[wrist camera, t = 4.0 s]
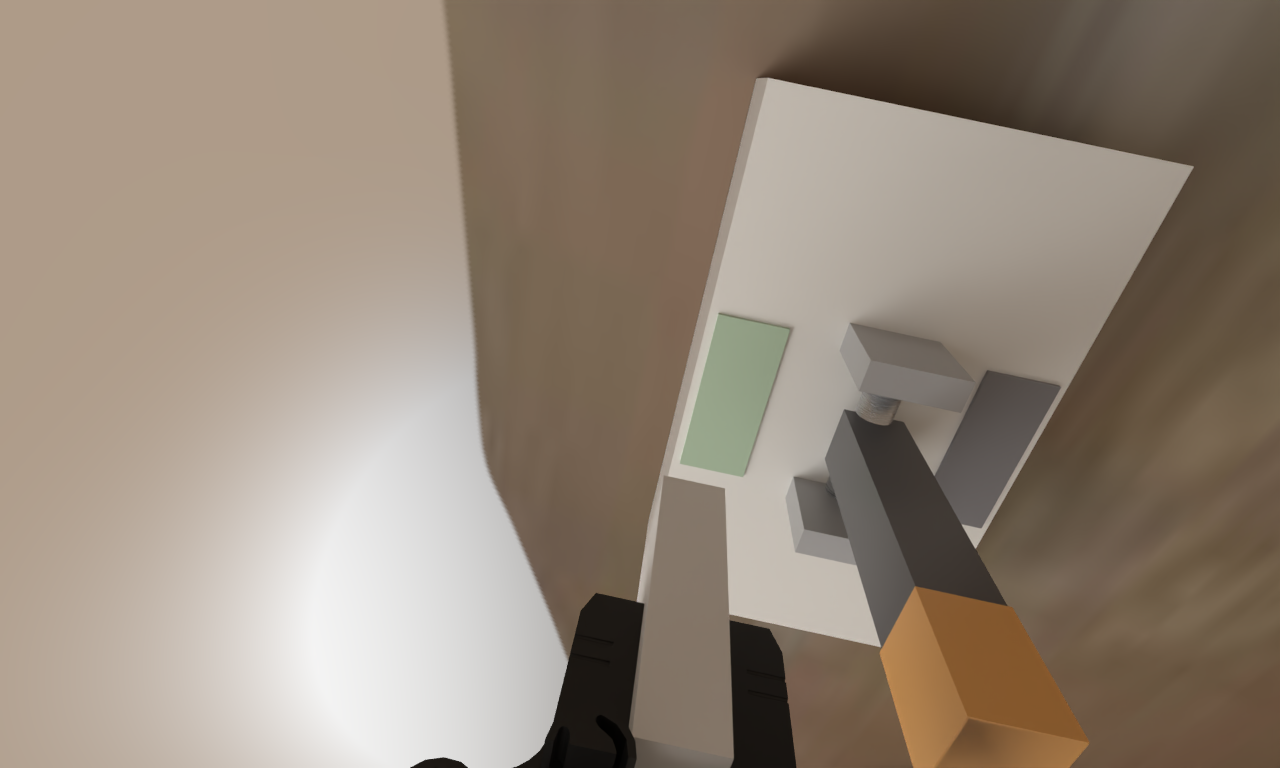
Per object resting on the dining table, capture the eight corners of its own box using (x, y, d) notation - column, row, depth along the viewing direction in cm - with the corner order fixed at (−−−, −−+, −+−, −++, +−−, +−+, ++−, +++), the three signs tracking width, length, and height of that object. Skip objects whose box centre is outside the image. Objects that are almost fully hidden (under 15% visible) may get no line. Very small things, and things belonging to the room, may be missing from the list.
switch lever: (866, 488, 22) (1003, 845, 12) (809, 476, 22) (896, 822, 12) (913, 382, 20) (1126, 699, 10) (851, 369, 20) (998, 671, 10)
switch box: (885, 570, 30) (938, 720, 23) (648, 519, 31) (630, 652, 23) (1093, 148, 21) (1284, 182, 14) (756, 78, 22) (778, 77, 14)
